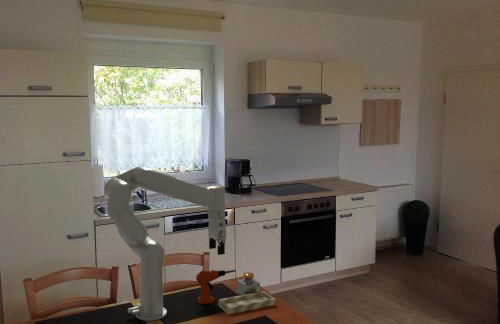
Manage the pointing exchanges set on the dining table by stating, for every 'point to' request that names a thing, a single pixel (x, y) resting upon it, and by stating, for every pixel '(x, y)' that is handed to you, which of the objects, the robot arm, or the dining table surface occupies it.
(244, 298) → the marbled rectangular tray
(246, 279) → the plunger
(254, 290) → the socket block
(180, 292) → the dining table surface
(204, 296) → the toy drill
